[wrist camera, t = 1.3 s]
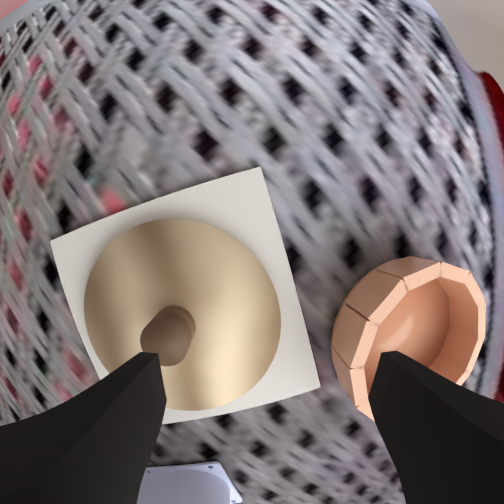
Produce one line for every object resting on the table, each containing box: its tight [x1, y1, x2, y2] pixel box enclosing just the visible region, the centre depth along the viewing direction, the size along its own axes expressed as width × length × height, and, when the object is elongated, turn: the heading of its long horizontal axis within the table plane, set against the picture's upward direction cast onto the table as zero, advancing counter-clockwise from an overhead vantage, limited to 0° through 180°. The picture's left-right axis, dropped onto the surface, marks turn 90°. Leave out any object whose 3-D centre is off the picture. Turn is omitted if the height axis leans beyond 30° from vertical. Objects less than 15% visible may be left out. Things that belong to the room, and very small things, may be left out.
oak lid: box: [84, 218, 281, 411], centre depth 18 cm, size 15×15×4 cm
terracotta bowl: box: [330, 256, 485, 421], centre depth 20 cm, size 13×13×5 cm
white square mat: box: [50, 167, 320, 424], centre depth 21 cm, size 18×18×1 cm
